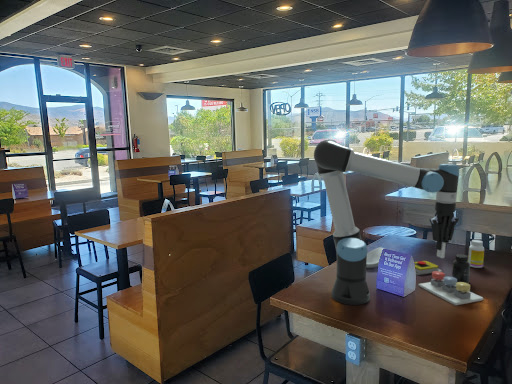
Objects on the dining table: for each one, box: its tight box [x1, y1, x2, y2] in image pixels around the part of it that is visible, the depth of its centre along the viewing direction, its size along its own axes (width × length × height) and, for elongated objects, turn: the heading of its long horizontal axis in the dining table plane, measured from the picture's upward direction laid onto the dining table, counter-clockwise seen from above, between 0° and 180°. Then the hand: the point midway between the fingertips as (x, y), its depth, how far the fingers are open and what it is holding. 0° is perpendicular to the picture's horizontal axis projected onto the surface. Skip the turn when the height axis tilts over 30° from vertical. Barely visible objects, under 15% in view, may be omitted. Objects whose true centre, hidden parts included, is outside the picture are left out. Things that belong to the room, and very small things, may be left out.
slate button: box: [443, 275, 457, 287], centre depth 159 cm, size 5×5×4 cm
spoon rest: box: [366, 246, 385, 269], centre depth 196 cm, size 24×12×7 cm, turn 131°
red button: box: [431, 271, 446, 282], centre depth 165 cm, size 5×5×4 cm
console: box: [418, 278, 484, 306], centre depth 159 cm, size 14×20×3 cm
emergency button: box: [413, 260, 443, 276], centre depth 186 cm, size 9×4×15 cm
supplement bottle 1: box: [451, 253, 471, 284], centre depth 170 cm, size 7×7×12 cm
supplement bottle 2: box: [467, 239, 485, 269], centre depth 190 cm, size 7×7×13 cm
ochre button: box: [456, 282, 471, 294], centre depth 153 cm, size 5×5×4 cm
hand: (440, 256), depth 161 cm, fingers closed
